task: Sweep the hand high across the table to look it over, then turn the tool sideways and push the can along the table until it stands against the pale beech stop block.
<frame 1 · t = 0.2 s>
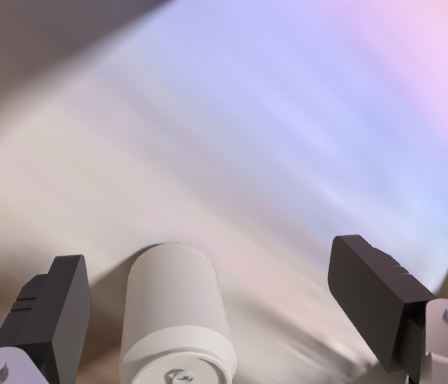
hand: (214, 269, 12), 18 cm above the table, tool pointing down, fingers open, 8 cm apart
can: (171, 272, 33), on the table
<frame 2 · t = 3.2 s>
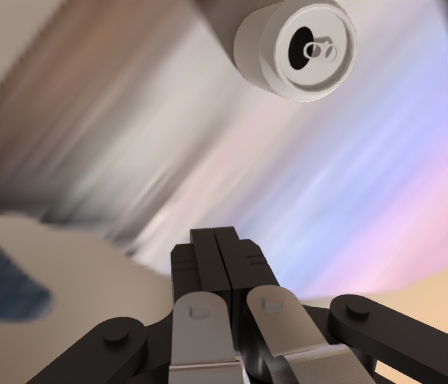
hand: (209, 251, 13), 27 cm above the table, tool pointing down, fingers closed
can: (267, 48, 37), on the table
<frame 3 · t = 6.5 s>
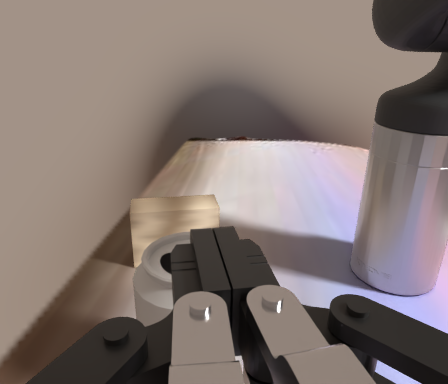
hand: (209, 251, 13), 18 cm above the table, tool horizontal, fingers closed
stop block: (176, 255, 46), on the table
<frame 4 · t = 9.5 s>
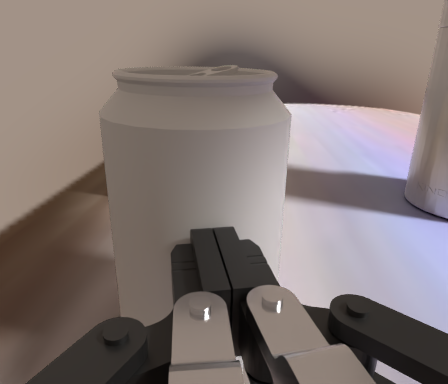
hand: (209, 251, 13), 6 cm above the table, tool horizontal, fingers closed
can: (198, 321, 19), on the table, touching gripper
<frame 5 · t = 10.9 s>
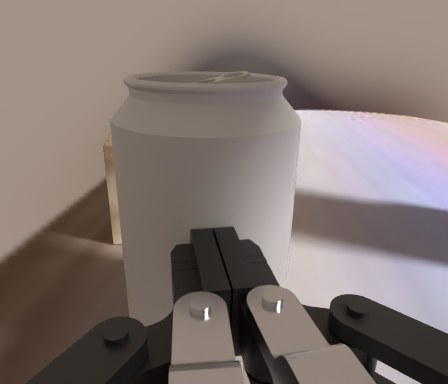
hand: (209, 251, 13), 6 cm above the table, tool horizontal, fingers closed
can: (207, 324, 19), on the table, touching gripper
stop block: (183, 226, 28), on the table
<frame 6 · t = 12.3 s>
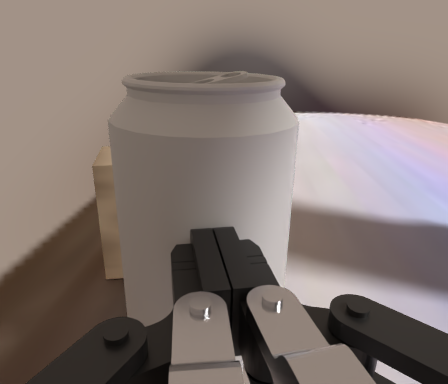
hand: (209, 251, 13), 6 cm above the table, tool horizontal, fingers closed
can: (205, 324, 19), on the table, touching gripper
stop block: (188, 255, 25), on the table
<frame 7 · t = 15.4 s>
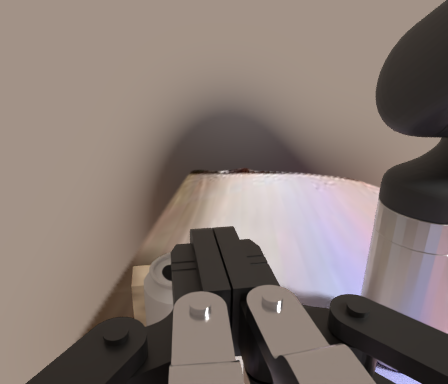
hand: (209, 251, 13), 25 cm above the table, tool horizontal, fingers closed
can: (185, 362, 40), on the table
stop block: (178, 320, 45), on the table
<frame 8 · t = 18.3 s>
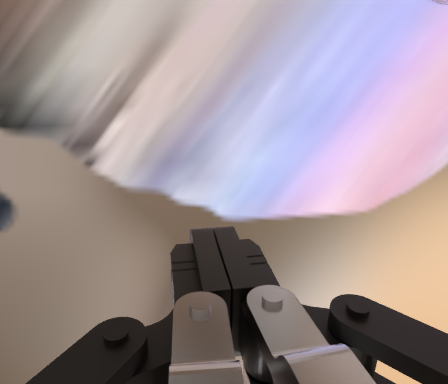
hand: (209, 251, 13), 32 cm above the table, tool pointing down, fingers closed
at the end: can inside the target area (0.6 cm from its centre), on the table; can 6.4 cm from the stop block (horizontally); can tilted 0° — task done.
